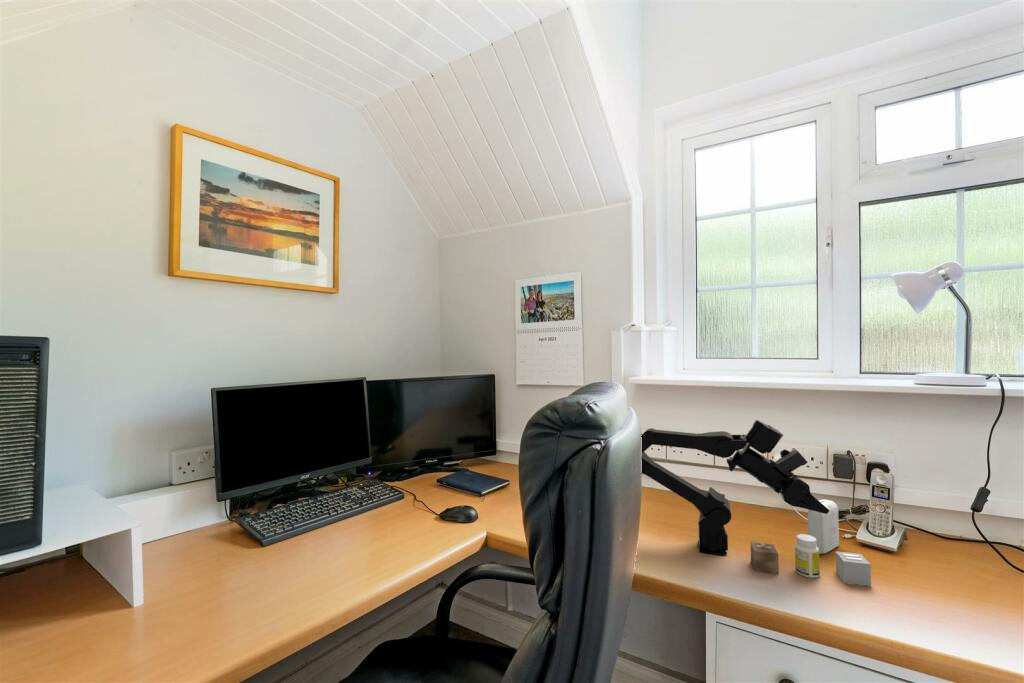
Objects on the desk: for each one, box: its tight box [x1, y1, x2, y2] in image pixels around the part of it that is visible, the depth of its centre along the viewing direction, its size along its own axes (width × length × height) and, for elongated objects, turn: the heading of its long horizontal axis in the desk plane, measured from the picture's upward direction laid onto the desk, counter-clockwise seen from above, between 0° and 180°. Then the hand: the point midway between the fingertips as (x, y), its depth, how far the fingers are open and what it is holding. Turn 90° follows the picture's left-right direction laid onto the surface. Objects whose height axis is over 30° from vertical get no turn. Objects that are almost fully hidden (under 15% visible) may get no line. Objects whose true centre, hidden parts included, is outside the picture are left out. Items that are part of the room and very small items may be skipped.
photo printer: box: [807, 499, 840, 555], centre depth 117 cm, size 10×4×12 cm, turn 123°
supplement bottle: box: [794, 533, 821, 579], centre depth 105 cm, size 5×5×8 cm
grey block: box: [835, 551, 872, 587], centre depth 102 cm, size 5×5×5 cm
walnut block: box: [749, 541, 780, 575], centre depth 108 cm, size 5×5×5 cm
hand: (822, 507), depth 107 cm, fingers open, 9 cm apart
